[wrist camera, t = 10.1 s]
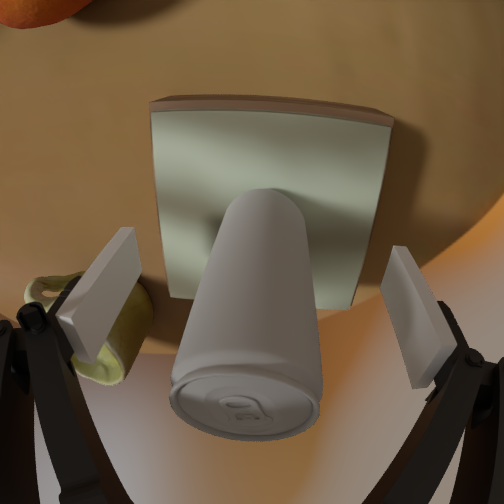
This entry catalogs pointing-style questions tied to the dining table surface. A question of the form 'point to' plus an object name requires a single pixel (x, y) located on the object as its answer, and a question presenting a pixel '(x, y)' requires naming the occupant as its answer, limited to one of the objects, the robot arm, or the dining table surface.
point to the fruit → (37, 12)
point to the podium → (268, 179)
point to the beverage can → (252, 328)
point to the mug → (119, 338)
